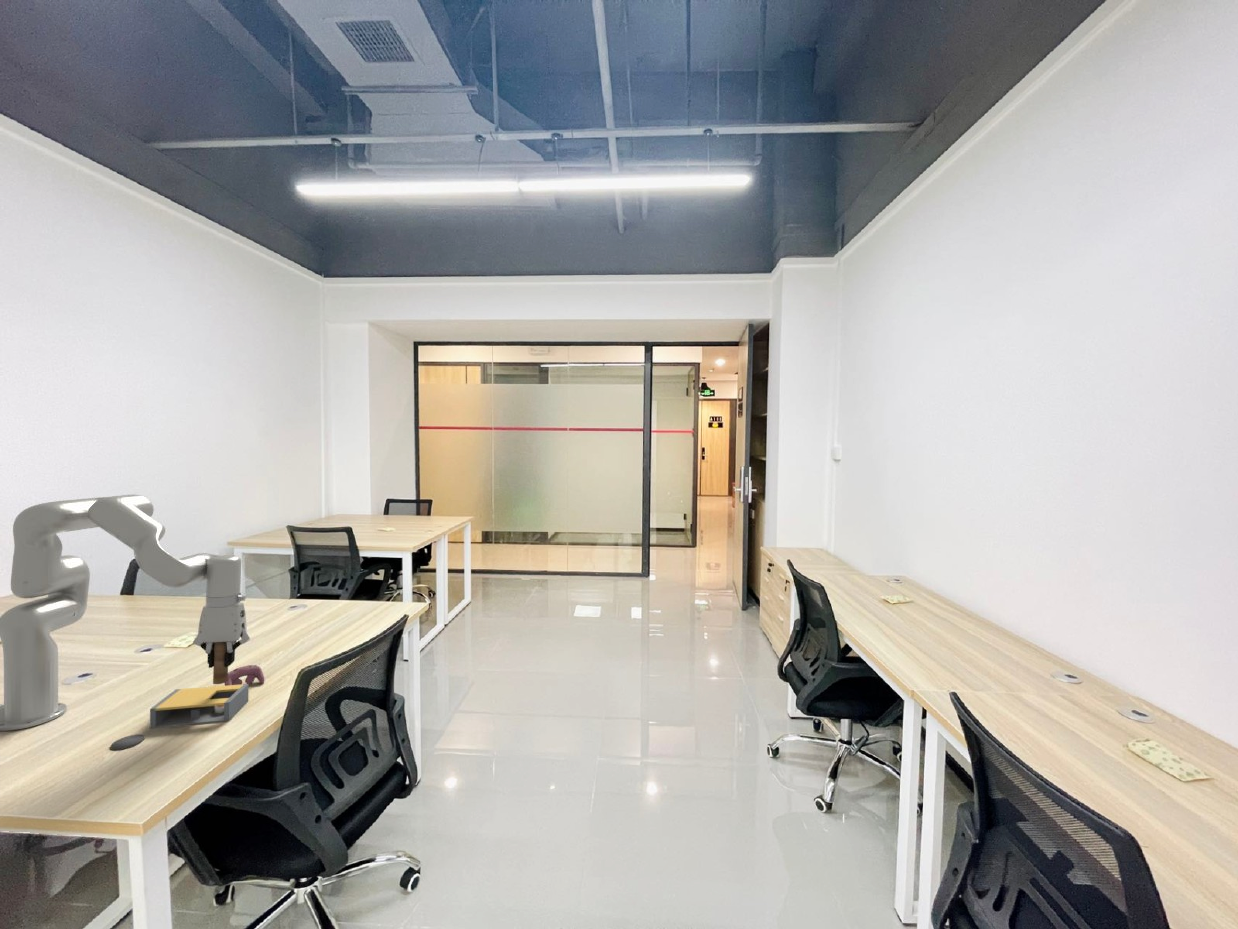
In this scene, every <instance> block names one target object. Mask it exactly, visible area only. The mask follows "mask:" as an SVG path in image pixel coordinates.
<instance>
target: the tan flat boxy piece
mask: <svg viewBox="0 0 1238 929" xmlns="http://www.w3.org/2000/svg"><path fill="white" fill-rule="evenodd" d="M249 685H250V684H246V683H244V684H243V683H242V684H241V685H228V686H225V685H218V686H217V685H216V686H203V687H202V686H201V687H192V688H179V689H178V688H176V689H174V690H173V691H171V693H169V694H168V695H166V696H165V697H164V698H163V699H161V700H160V701H159V702H157V703H156V704H155V705H154V706H152V707H150V708H149V729H157V728H159V729H160V728H168V727H169V728H171V727H180V726H190V725H200V724H201V725H202V724H212V723H222V722H230V721H232V719H233V718H234V717H235V715H237V714H238V713H239V712H240V711H241V710H242V709H243V707H245V705H246V704H247V703H248V702H249ZM217 705H224V712H223V713H215V706H217Z"/></svg>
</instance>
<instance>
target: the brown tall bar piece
mask: <svg viewBox="0 0 1238 929" xmlns="http://www.w3.org/2000/svg"><path fill="white" fill-rule="evenodd" d="M225 653H227V642H214V666H213V667H212V668H213V669H212V671H213V672H212V674H213V676H212V684H213V685H222V684H225V682H227V681H228V673H229V666H228V667H225Z"/></svg>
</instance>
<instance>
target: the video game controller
mask: <svg viewBox="0 0 1238 929" xmlns="http://www.w3.org/2000/svg"><path fill="white" fill-rule="evenodd" d="M242 677H246V678H245V680H244V683H245V684H249V685H250V684H253V683H254V682H255V679H257V680H258V682H259V683H260V684H262V685H263V684H264V683H265V675H264V673H263V670H262V668H261V667H260V666H259V665H256V664H251V665H244V666H240V667H236V668H235V669H233V670H230V671H228V681H227V682H225V683H224V686H228V685H241V684H243V681H242V679H241V678H242Z"/></svg>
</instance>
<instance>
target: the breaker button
mask: <svg viewBox="0 0 1238 929" xmlns="http://www.w3.org/2000/svg"><path fill="white" fill-rule="evenodd" d="M223 712H224V705H217V706H215V713H223Z"/></svg>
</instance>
